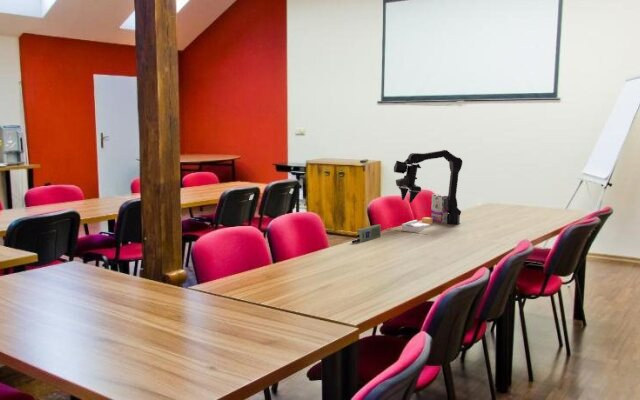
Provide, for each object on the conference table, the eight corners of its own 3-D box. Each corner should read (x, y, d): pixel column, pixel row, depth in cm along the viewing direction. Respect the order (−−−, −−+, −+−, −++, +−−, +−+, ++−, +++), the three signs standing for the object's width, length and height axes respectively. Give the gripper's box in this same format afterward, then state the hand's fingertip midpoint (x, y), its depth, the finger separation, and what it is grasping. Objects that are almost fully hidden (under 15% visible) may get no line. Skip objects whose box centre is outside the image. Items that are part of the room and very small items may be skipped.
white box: (431, 227, 338) (431, 221, 337) (417, 232, 324) (417, 226, 323) (415, 225, 344) (415, 219, 343) (401, 230, 330) (401, 224, 329)
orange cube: (432, 224, 345) (432, 217, 344) (429, 225, 341) (429, 218, 341) (425, 223, 347) (425, 217, 347) (421, 224, 344) (422, 218, 343)
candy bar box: (448, 222, 354) (449, 195, 352) (441, 223, 352) (442, 196, 350) (437, 220, 364) (437, 193, 362) (430, 220, 362) (431, 194, 360)
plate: (435, 225, 345) (435, 224, 345) (430, 227, 340) (430, 226, 339) (424, 224, 349) (424, 223, 349) (419, 225, 344) (419, 225, 344)
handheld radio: (381, 237, 312) (355, 244, 292) (376, 236, 314) (350, 244, 294) (381, 224, 311) (355, 231, 292) (376, 224, 313) (349, 230, 294)
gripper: (391, 171, 347) (387, 197, 349) (406, 175, 330) (401, 202, 332) (408, 173, 351) (403, 199, 353) (423, 177, 334) (419, 204, 336)
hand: (406, 201), depth 343 cm, fingers open, 9 cm apart
